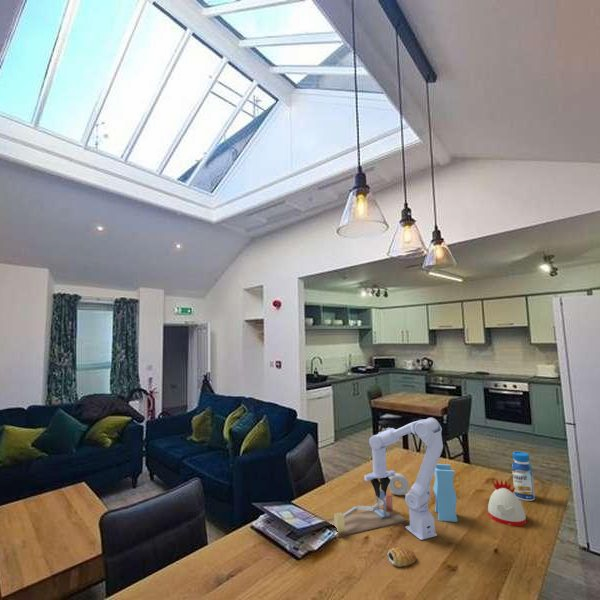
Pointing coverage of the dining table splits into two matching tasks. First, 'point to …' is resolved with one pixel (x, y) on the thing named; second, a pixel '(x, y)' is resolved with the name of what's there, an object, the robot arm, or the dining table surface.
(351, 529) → the tan flat sheet
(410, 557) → the pastry
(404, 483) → the donut
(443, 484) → the vase
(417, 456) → the dining table surface
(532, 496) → the beverage bottle
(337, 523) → the jointed linkage mechanism
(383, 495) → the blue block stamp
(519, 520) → the kitchen timer
